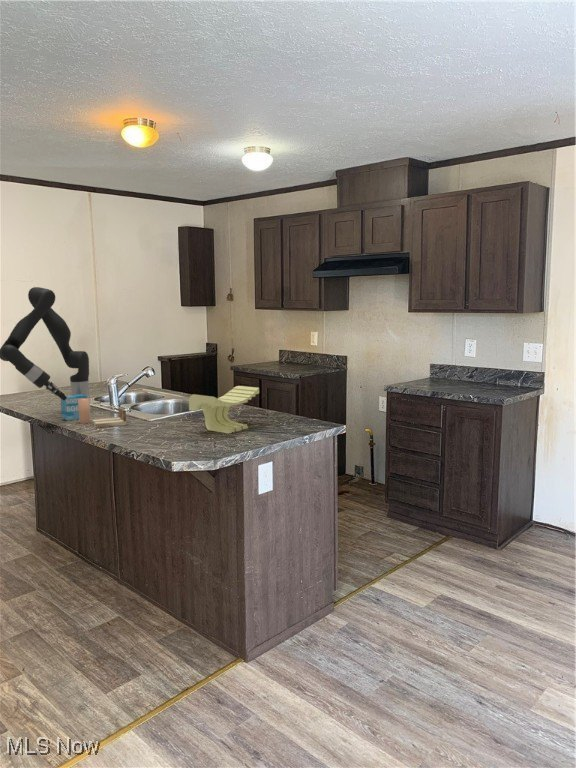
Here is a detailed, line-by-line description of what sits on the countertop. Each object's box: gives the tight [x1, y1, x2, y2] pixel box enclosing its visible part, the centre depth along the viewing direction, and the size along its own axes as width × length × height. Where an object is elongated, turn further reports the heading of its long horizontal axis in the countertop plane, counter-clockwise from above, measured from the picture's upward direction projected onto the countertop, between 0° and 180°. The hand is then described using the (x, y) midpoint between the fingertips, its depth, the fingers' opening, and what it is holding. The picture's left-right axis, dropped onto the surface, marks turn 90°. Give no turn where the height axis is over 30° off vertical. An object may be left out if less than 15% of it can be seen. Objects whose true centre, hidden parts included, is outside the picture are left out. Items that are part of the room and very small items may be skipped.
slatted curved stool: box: [188, 385, 260, 434], centre depth 271 cm, size 30×16×18 cm, turn 143°
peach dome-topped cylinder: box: [78, 398, 92, 425], centre depth 289 cm, size 5×5×12 cm
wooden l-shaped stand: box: [91, 406, 127, 429], centre depth 285 cm, size 12×14×7 cm
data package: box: [60, 394, 87, 422], centre depth 299 cm, size 12×4×12 cm, turn 133°
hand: (64, 397), depth 284 cm, fingers open, 8 cm apart
